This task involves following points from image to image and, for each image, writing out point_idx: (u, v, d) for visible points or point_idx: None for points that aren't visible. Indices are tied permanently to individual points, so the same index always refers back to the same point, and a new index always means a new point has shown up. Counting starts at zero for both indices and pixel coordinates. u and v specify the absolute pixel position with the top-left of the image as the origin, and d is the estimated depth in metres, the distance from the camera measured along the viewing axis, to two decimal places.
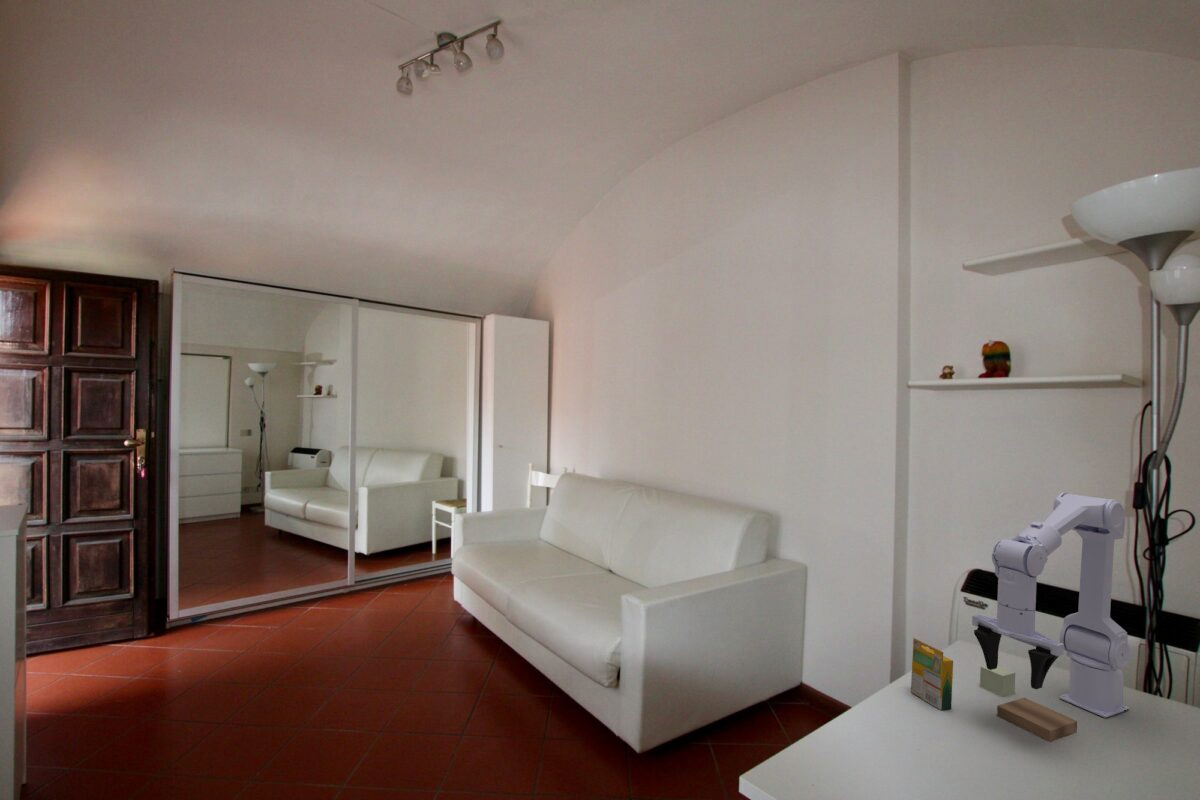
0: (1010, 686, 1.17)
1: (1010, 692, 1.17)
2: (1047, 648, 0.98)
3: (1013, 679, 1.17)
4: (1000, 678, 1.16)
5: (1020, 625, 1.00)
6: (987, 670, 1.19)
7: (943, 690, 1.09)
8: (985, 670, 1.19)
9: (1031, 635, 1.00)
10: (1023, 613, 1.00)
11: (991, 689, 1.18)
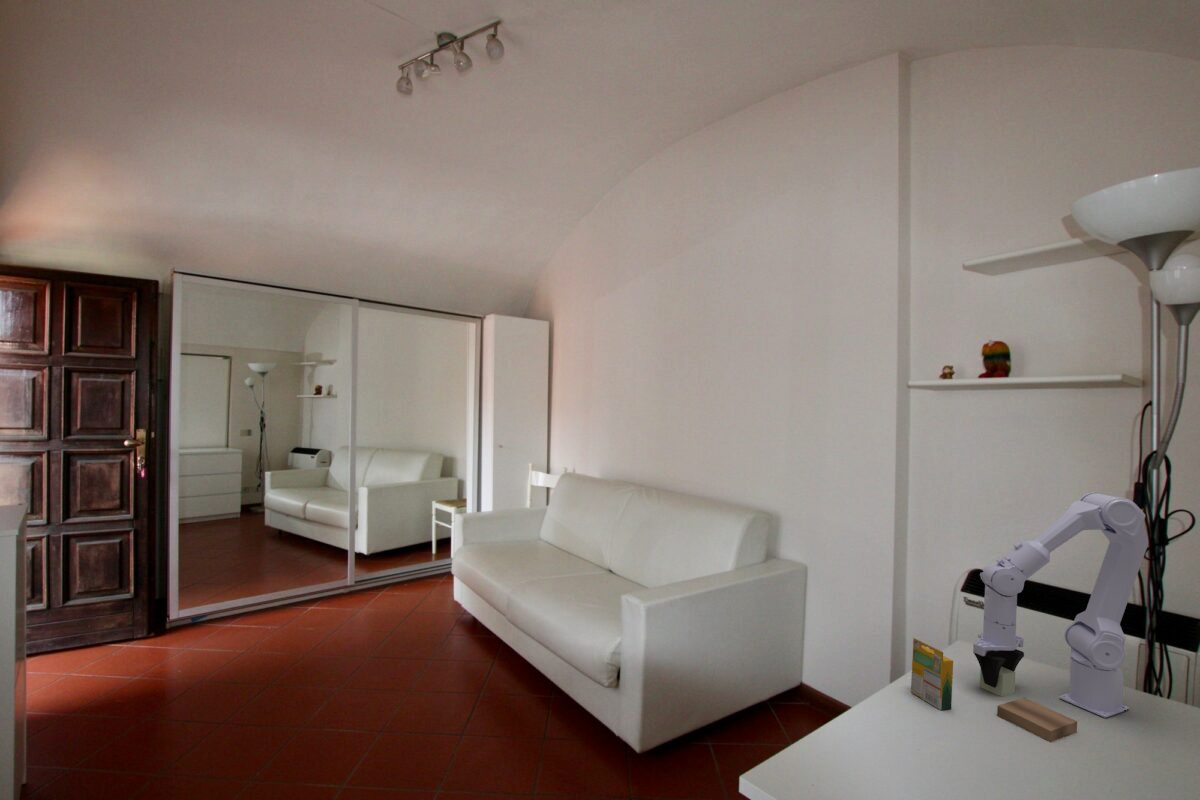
0: (1010, 686, 1.17)
1: (1010, 692, 1.17)
2: None
3: (1013, 679, 1.17)
4: (1000, 678, 1.16)
5: (983, 630, 1.20)
6: None
7: (943, 690, 1.09)
8: None
9: (988, 641, 1.18)
10: (984, 621, 1.20)
11: (991, 689, 1.18)
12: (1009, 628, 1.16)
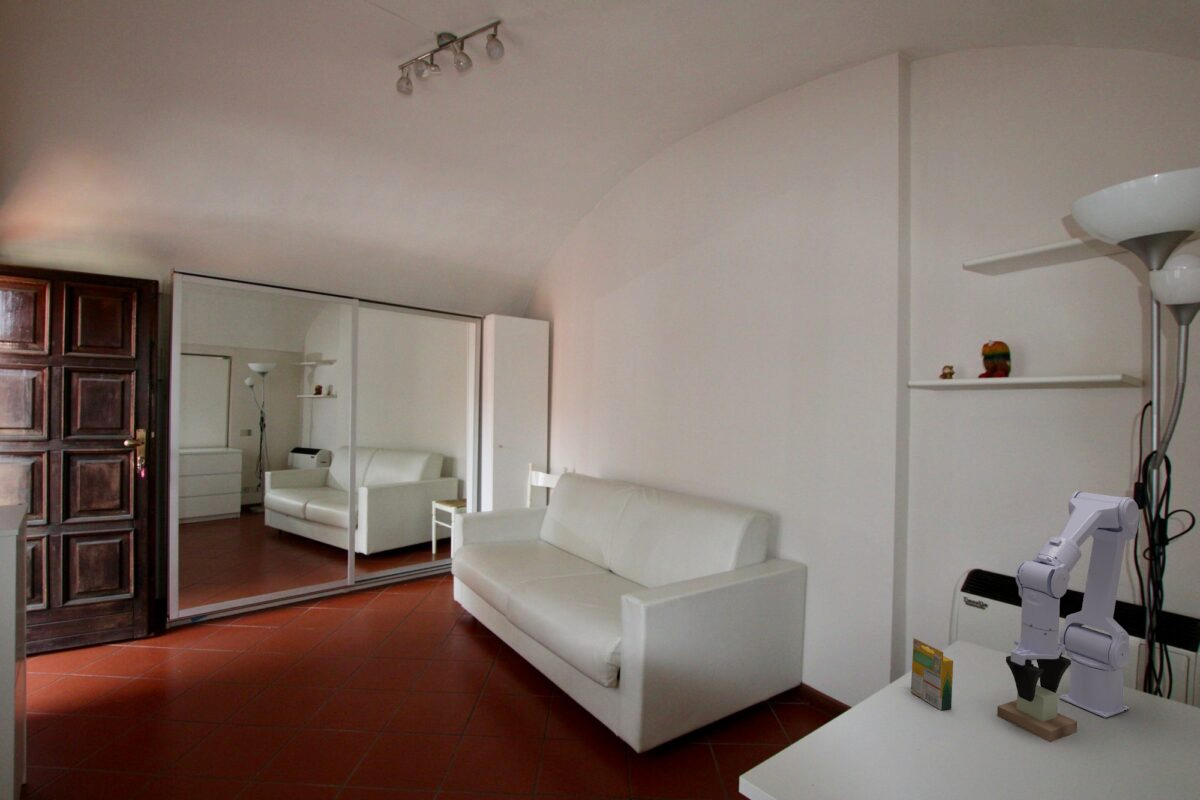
0: (1052, 709, 1.04)
1: (1052, 716, 1.04)
2: None
3: (1055, 701, 1.05)
4: (1041, 701, 1.03)
5: (1021, 636, 1.07)
6: None
7: (943, 690, 1.09)
8: None
9: (1027, 649, 1.05)
10: (1022, 626, 1.07)
11: (1030, 712, 1.05)
12: (1051, 634, 1.03)
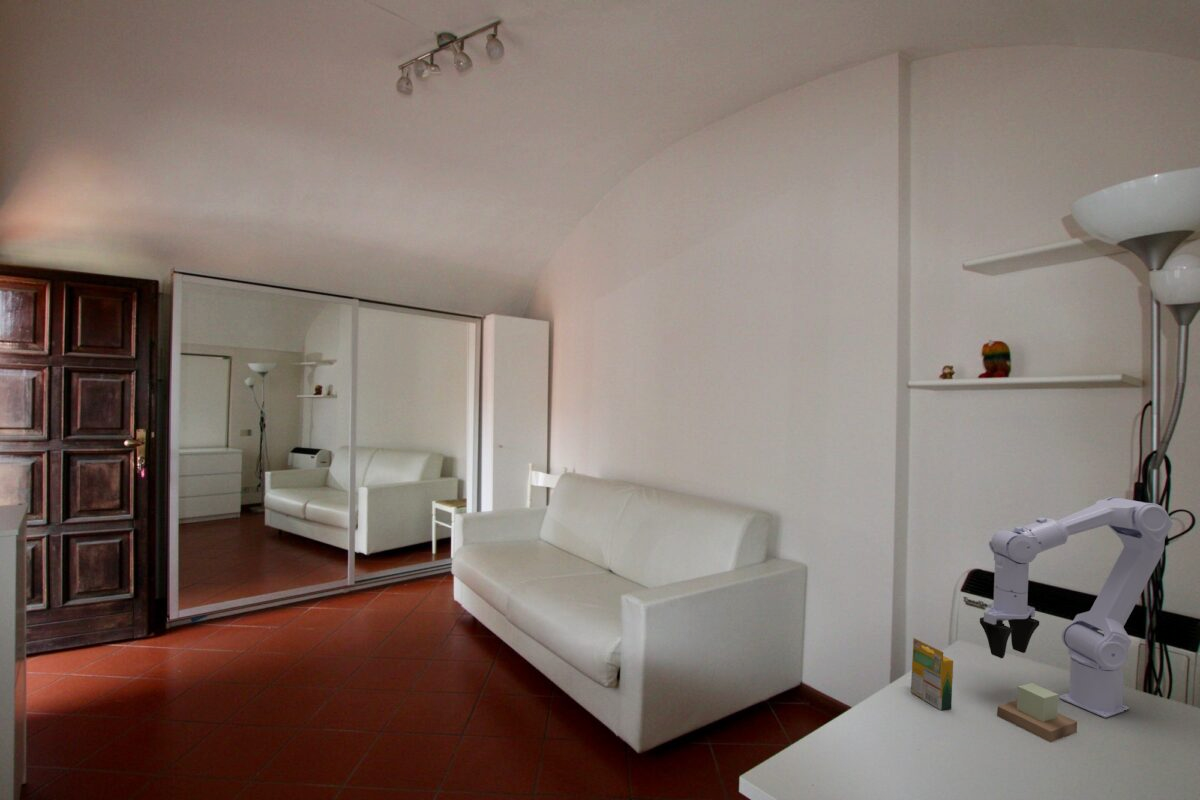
0: (1052, 709, 1.04)
1: (1052, 716, 1.04)
2: None
3: (1055, 702, 1.04)
4: (1041, 701, 1.03)
5: (994, 599, 1.17)
6: (1026, 691, 1.06)
7: (943, 690, 1.09)
8: (1023, 691, 1.06)
9: (999, 610, 1.15)
10: (995, 589, 1.16)
11: (1030, 712, 1.05)
12: (1021, 596, 1.13)
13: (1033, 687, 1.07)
